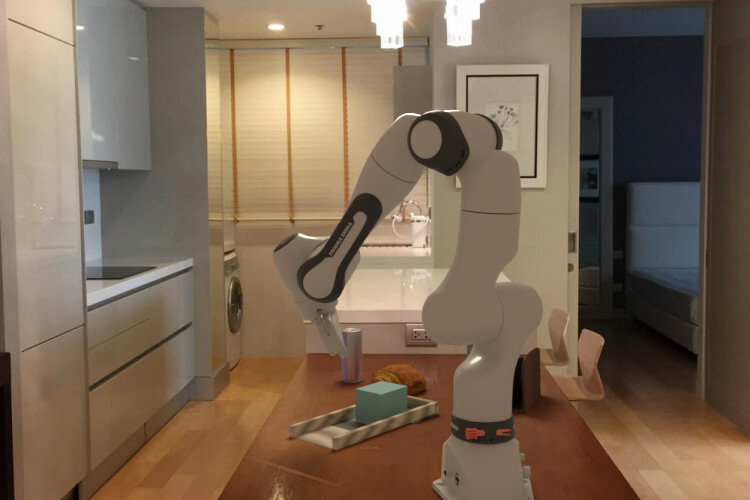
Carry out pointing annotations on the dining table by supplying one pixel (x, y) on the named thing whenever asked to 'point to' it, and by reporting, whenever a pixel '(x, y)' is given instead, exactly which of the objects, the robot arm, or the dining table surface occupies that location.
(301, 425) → the trap lane
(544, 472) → the dining table surface
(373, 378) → the croissant
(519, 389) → the letter holder
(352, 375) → the beverage can
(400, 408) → the teal block
